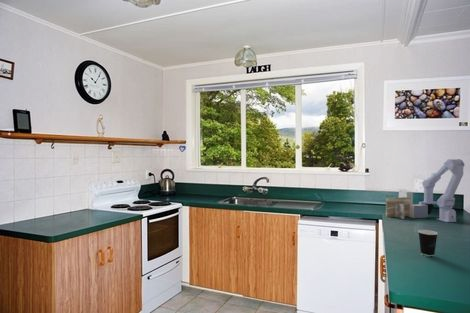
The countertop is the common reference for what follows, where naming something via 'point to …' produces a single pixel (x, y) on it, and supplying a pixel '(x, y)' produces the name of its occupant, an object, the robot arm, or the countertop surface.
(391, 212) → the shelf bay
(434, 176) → the robot arm
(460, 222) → the countertop surface
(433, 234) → the dixie cup
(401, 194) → the skincare box
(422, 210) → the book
